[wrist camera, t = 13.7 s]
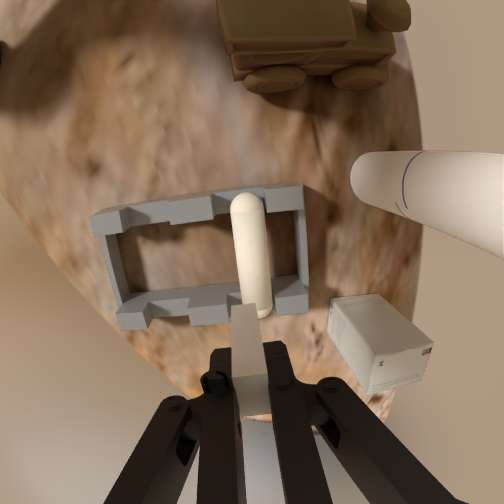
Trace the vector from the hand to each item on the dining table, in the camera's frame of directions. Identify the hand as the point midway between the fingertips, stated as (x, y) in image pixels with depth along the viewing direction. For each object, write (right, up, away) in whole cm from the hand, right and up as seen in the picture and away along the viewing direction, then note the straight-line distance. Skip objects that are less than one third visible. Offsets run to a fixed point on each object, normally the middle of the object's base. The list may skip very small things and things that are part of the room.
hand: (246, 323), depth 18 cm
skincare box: (+15, -4, +23) cm, 28 cm away
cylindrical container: (+16, +14, +17) cm, 28 cm away
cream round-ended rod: (0, +4, +15) cm, 16 cm away
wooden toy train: (+7, +29, +12) cm, 32 cm away
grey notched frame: (-6, +5, +18) cm, 20 cm away
